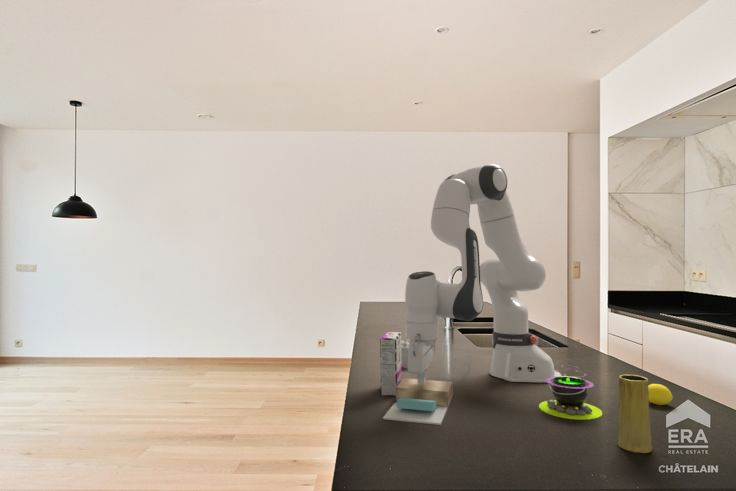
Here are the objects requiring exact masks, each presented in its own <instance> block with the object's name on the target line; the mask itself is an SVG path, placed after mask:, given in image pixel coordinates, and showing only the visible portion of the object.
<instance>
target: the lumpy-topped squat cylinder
mask: <svg viewBox="0 0 736 491" xmlns="http://www.w3.org/2000/svg"><path fill="white" fill-rule="evenodd" d="M409 344H410V340H409V339H406V340H402V339H401V360H402V368H403V367H404V368H403V369H408V348H409Z"/></svg>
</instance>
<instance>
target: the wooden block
mask: <svg viewBox="0 0 736 491" xmlns="http://www.w3.org/2000/svg"><path fill="white" fill-rule="evenodd" d="M453 382H454V381H445V380H433V379H426V382H425V383H424V384H423V385H419V384H418V378H406V377H403V378H402V381H401V382H400V384H399V385H398V386H397V387H396V396H395V403H397V399H400V398H410V399H421V400H432V401H436V406H438V407H447V408H449V406H450V404H451V402H452V399H453V397H454V396H453V395H454V393H453V388H454V387H453V386H454V385H453Z"/></svg>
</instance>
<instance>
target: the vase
mask: <svg viewBox="0 0 736 491" xmlns="http://www.w3.org/2000/svg"><path fill="white" fill-rule="evenodd" d="M648 385H649V379H648V378H647V377H645V376H643V375H637V374H621V375H619V376H618V389H619V390H618V391H619V410H618V413H619V414H618V417H619V418H618V419H619V420H618V440H617V445H618V446H619V448H620V449H623V450H625V451H627V452H630V453H635V454H651V452H652V451H653V446H652V435H651V434H652V433H651V419H650V418H651V417H650V401H649V390H648Z"/></svg>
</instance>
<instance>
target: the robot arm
mask: <svg viewBox="0 0 736 491" xmlns="http://www.w3.org/2000/svg"><path fill="white" fill-rule="evenodd" d="M507 177H508V176H507V174H506V172H505V171H504V169H503V168H502V167H501V166H499V165H497V164H485V165H483V166H477V167H471V168H468V169H466V170H464V171H460V172H459V173H456V174H455V173H454V174H451V175H450V176H448V177H447V178H445V179H444V181H442V182H441V183H440V185H439V186H438V189H437V192H436V196H435V198H434V203H433V207H432V212H431V217H430V218H431V219H430V228H431V229H430V230H431V231H432V233H433V235H434V236H435V237H436V239H438V240H439V241H440V242H442V243H444V244H446V245H448V246H451V247H453V248H455V249H457V250H458V251H459V253H460V255H461V258H460V259H461V281H460V282H459V283H446V282H445V283H444V282H440V281H439V280H437V276H436V274H435V272H432V271H427V270H426V271H417V272H412V273H411V274H409V275H408V276H407V279H406V285H405V291H404V292H405V294H404V295H405V296H404V298H405V299H404V302H405V309H406V315H405V321H404V322H405V325H404V327H405V329H404V331H405V334H404V335H405V339H406V340H407V339H409V340H410V344H409V348H408V368H407V372H408V374H410V375H416V377H417V378H416V379H418V384H419V385H423V384H424V383H425V382H426V380H427V371H428V366H429V365H430V363H432V361H433V360H434V358H435V353H436V340H437V339H439V319H438V317H439V318H447V319H455V320H460V321H464V322H465V321H466V322H471V321H473V320H475V319H476V318H477V317H478V316H479V315H480V314H481V313H482V312H483V309H484V297H483V289H482V286H481V285H483V286H484V287H485V289H486V290H487V291H486V292H487V293H488V296H489V299H490V302H491V305H492V314H493V316H492V317H493V331H492V335H491V339H492V340H491V343H492V344H491V345H492V348H493V349H492V350H493V351H492V358H491V365H490V369H489V375H491V376H492V377H494V378H498V379H502V380H505V381H508V382H511V383H512V382H513V383H514V382H515V383H547V382H548V383H549V380H548V378H549V379H550V378H552V377H553V378H554V377H560V376H562V374H561V373H560V372H559V371H558V370H557V371H556V370H555V364H554V362H553V359H552V358H551V356H550V355H549V354H547V353H546V352H545V351H544V350H543V349H541V348H540V347H539V346H537V345H536V343H537V341H538V338H537V336H535V335H534V334H533V333H531V332H529V310H528V308H527V306H526V304H524V303H523V302H522V301H521V299H520V297H519V294H518V292H531V291H535V290H538V289H540V288H542V286H543V285H544V283H545V281H546V270H545V266H544V264H543V263H542V262H541V261H539V260H538V259H536V258H535V257H534V256H533V255H532V254H531V253H530V251H529V250H528V249H527V248H526V245H525V244H524V242H523V240H522V238H521V236H520V232H519V229H518V228H519V227H518V225H517V220H516V217H515V213H514V209H513V206H512V203H511V199H510V197H509V196H508V193H507V188H508V178H507ZM471 205H477V212H478V218H479V222H480V228H481V230H482V231H481V232H482V234H483V235H482V236H483V240H484V242H485V245H486V246H487V247H488V248H489V249H490V250H492V251H493V252H494V253H495V255H496V256H497V257H493V258H490V259H486V260H484V261H483V262H481V263H480V248H479V240H478V235H477V232H476V231H475V230H473V229H472V228H471V226H470V212H471ZM553 371H554V373H555V374H554V373H553ZM556 374H558V375H556ZM546 379H547V380H548V381H547V380H546ZM546 381H547V382H546ZM551 382H552V383H553V380H552V381H551ZM548 383H547V384H548ZM552 383H551V384H552Z"/></svg>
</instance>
